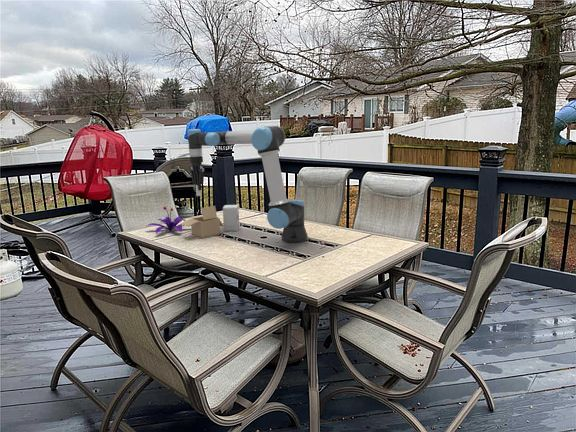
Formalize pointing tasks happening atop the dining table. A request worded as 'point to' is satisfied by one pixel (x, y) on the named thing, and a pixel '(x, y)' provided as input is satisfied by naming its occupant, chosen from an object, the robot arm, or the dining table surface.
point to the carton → (206, 227)
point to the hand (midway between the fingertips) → (199, 195)
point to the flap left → (190, 222)
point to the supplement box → (231, 217)
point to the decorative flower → (169, 223)
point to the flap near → (209, 212)
